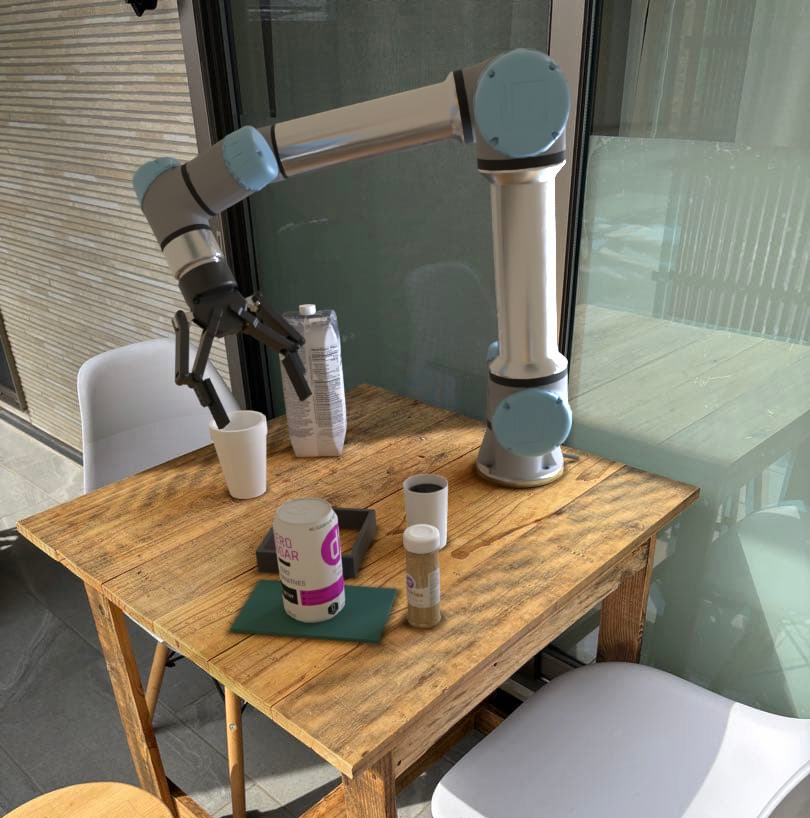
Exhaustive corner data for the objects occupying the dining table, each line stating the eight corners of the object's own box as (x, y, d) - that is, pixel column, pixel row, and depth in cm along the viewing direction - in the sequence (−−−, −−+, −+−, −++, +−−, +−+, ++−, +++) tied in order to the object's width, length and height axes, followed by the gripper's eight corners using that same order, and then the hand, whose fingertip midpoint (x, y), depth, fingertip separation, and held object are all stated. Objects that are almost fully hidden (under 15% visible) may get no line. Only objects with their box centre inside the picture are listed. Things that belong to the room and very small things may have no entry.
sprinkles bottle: (400, 621, 112) (395, 533, 105) (422, 606, 115) (418, 519, 108) (427, 634, 109) (423, 544, 103) (448, 617, 112) (446, 529, 106)
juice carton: (346, 458, 157) (333, 313, 144) (290, 460, 158) (272, 316, 144) (349, 439, 165) (337, 299, 152) (295, 441, 166) (279, 302, 152)
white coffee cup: (418, 557, 126) (416, 498, 121) (398, 538, 131) (395, 480, 126) (457, 545, 128) (456, 486, 123) (436, 527, 134) (434, 469, 129)
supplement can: (354, 595, 117) (346, 499, 109) (330, 630, 110) (319, 529, 103) (301, 587, 119) (289, 491, 112) (274, 620, 113) (260, 521, 105)
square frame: (376, 528, 134) (375, 509, 132) (355, 578, 122) (353, 557, 120) (288, 523, 137) (286, 504, 135) (258, 572, 124) (255, 551, 123)
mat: (397, 592, 118) (396, 588, 118) (378, 644, 108) (378, 640, 108) (260, 582, 122) (260, 579, 122) (230, 632, 112) (229, 628, 111)
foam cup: (280, 478, 151) (271, 410, 145) (268, 503, 143) (258, 431, 137) (229, 478, 152) (217, 410, 146) (214, 502, 144) (201, 432, 138)
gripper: (266, 267, 128) (326, 396, 129) (111, 303, 114) (179, 447, 115) (286, 242, 122) (349, 378, 122) (124, 277, 108) (195, 429, 109)
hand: (266, 411), depth 119 cm, fingers open, 13 cm apart
